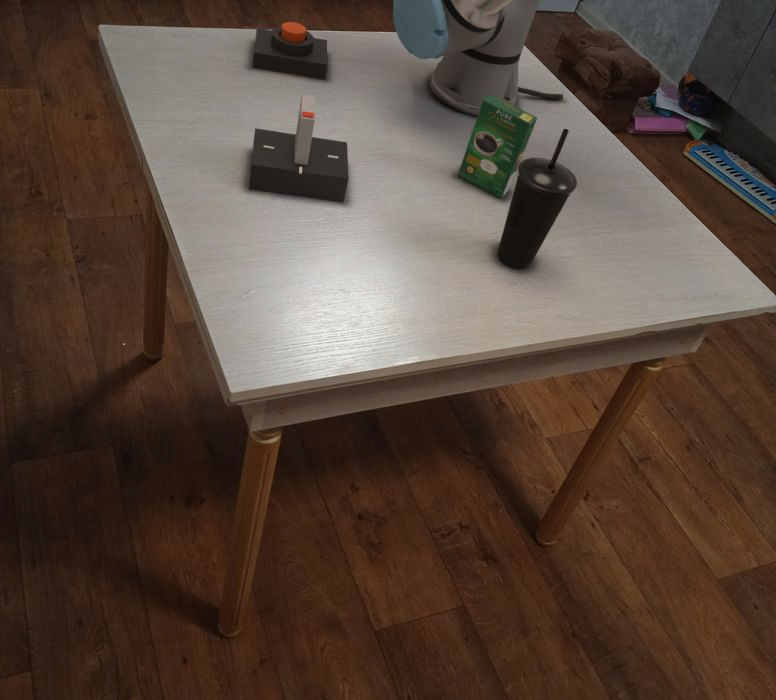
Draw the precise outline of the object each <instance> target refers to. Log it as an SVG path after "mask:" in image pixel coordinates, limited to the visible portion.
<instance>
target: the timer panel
mask: <svg viewBox="0 0 776 700" xmlns="http://www.w3.org/2000/svg"><path fill="white" fill-rule="evenodd" d="M253 135H254V137H253V145H252V154H251V161H250V162H251V163H250V172H249V182H248V190H252V191H260V192H267V193H273V194H274V193H275V194H282V195H288V196H295V197H301V198H302V197H303V198H310V199H318V200H325V201H331V202H341V203H344V202H345V199H346V198H345V197H346V192H347V188H348V183H349V178H350V177H349V155H348V154H349V153H348V151H349V150H348V142H347V141H341V140H335V139H329V138H322V137H321V138H320V137H314V136H312V140H311V146H310V152H309V158H308V165H302V164H295V163H294V154H295V137H296V133H288V132H282V131H276V130H269V129H263V128H256V127H255V128H254V134H253Z"/></svg>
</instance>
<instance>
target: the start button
mask: <svg viewBox="0 0 776 700" xmlns="http://www.w3.org/2000/svg"><path fill="white" fill-rule="evenodd" d="M281 26H282V28H281V37H282V38H283V39H285V40H287V41H290V42H296V43H297V42H304V41H305V35H306V31H307V28H306V27H305V26H304V25H303V24H301V23H298V22H295V21H286V22H283V23H282V24H281Z"/></svg>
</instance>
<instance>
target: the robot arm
mask: <svg viewBox="0 0 776 700" xmlns="http://www.w3.org/2000/svg"><path fill="white" fill-rule="evenodd" d="M540 1H541V0H393V1H392V5H393V11H392V20H393V25H394V29H395V32H396V35H397V37H398V39H399V41H400V43H401V44H402V46H403V47H404V49H405V50H406V51H407V52H408V53H409V54H412V55H413V56H414V57H416V58H417V59H420V60H429V59H435V60H437V59H440V58H441V59H440V60H439V61H438V62H437V64H436V66H435V68H434V70H433V72H432V76H431V79H430V89H431V91H432V93H433V94H434V95H435V96H436V97H437V98H438V100H440V101H441V102H442V103H444V104H445V105H447V106H449V107H451V108H452V109H455V110H457V111H459V112H462V113H465V114H468V115H473V116H478V114H479V111H480V108H481V105H482V102H483V100H484V99H485V98H486V97H487V96H489V95H490V94H492V95H494V96H496V97H498V98H500V99H502V100H504V101H506V102H507V103H509V104H511V105H513V106H515V107H516V103H517V100H518V98H519V97H518V95H519V93H520V94H525V95H528V96H533V97H537V98H541V99H548V100H563V99H564V94H562V93H546V92H541V91H538V90H534V89H530V88H526V87H525V88H524V87H520V86H519V63H520V58H521V55H522V52H523V50H524V47H525V44H526V41H527V38H528V36H529V32H530V29H531V26H532V23H533V21H534V18H535V15H536V12H537V9H538V6H539V3H540Z"/></svg>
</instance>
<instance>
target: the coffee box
mask: <svg viewBox="0 0 776 700" xmlns="http://www.w3.org/2000/svg"><path fill="white" fill-rule="evenodd" d="M537 120H538V116H535V115H533V114H530V113H529V112H527V111H526V110H523V109H521V108H520V107H517V106H516V105H515V106H513V105H511V104H509V103H507V102H506V101H504V100H502V99H500V98H498V97H496V96H494V95H492V94H490V95H489V96H487V97H486V98H485V99H484V100H483V102H482V105H481V108H480V111H479V114H478V116H477V117H476V120H475V123H474V125H473V128H472V131H471V134H470V137H469V140H468V143H467V147H466V150H465V152H464V155H463V158H462V160H461V163H460V167H459V170H458V172H457V177H459V178H461V179H463V180H465V181H466V182H468V183H471V184H473V185H475V186H477V187H479V188H480V189H482V190H485V191H487V192H488V193H489V194H491V195H493V196H496V197H497V198H499V199H503V198H504V197H505V195H507V193H508V192H509V190H510V188H511V185H512V182H513V181H514V177H515V175H516V172H517V171H518V167H519V164H520V163H521V160H522V158H523V155H524V153H525V150H526V147H527V145H528V143H529V140H530V138H531V136H532V133H533V130H534V128H535V125H536V123H537Z"/></svg>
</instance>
